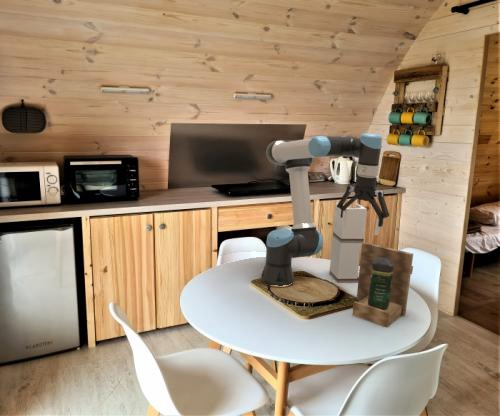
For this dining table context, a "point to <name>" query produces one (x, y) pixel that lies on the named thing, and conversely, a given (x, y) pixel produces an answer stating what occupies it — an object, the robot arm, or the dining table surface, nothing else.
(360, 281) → the wooden stand
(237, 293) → the dining table surface
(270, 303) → the dining table surface
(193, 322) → the dining table surface
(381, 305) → the coffee jar
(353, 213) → the grey seamed pillar
